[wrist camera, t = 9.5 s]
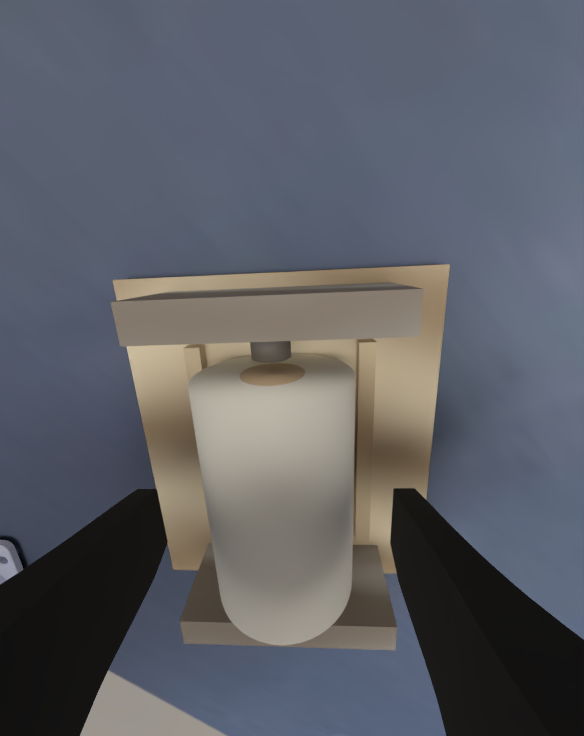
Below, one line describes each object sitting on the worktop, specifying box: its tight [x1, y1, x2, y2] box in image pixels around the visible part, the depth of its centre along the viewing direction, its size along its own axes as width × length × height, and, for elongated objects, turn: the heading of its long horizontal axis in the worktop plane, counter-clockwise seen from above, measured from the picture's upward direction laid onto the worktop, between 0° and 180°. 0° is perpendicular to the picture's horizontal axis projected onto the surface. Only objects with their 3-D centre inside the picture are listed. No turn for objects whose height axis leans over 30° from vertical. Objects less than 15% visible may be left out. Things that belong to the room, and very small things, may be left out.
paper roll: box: [188, 353, 355, 645], centre depth 11 cm, size 8×5×5 cm, turn 2°
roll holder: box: [111, 264, 450, 650], centre depth 12 cm, size 14×12×4 cm
